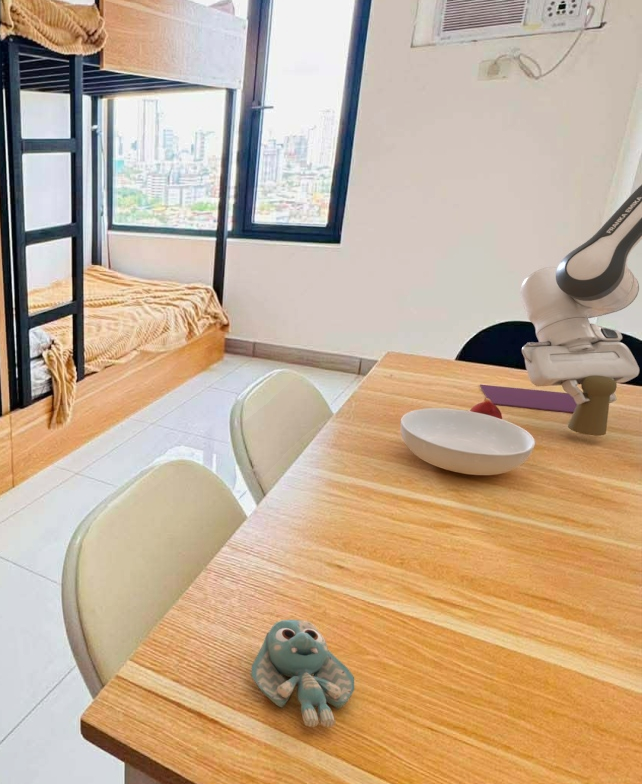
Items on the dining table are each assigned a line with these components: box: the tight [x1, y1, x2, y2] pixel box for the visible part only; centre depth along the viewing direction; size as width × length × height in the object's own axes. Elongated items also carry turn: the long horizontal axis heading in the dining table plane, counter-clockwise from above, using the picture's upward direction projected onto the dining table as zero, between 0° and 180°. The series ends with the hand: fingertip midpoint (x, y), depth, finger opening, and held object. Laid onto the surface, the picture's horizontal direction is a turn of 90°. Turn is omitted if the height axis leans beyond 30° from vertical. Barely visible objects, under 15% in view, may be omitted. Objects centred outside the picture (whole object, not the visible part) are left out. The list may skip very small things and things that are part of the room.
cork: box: [566, 375, 618, 437], centre depth 122 cm, size 6×6×11 cm
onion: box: [469, 397, 503, 420], centre depth 126 cm, size 6×6×8 cm
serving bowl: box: [400, 407, 536, 476], centre depth 115 cm, size 21×21×7 cm
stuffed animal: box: [250, 619, 355, 728], centre depth 66 cm, size 11×7×12 cm
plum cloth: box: [479, 383, 577, 414], centre depth 146 cm, size 20×14×1 cm
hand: (597, 402), depth 122 cm, fingers closed on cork, 4 cm apart
